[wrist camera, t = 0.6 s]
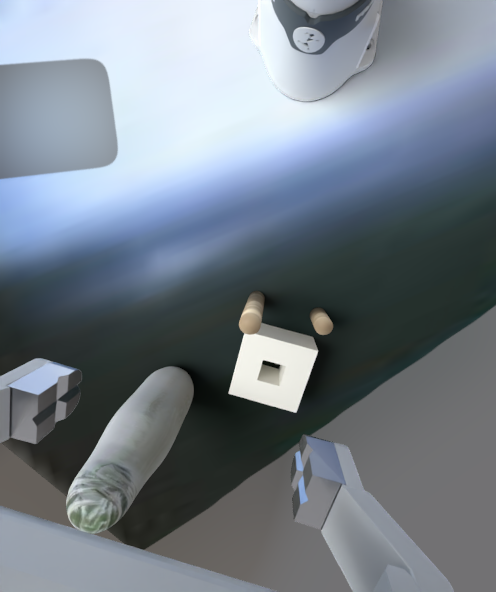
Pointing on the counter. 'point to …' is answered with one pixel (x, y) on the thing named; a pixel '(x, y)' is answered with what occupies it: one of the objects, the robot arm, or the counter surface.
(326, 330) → the short pin
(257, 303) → the long pin
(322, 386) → the counter surface
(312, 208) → the counter surface
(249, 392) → the hole block
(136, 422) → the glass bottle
